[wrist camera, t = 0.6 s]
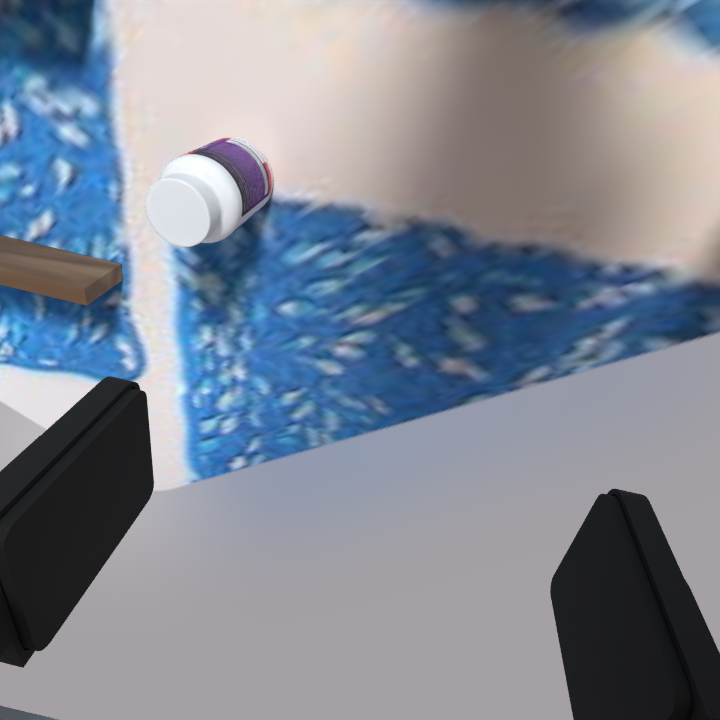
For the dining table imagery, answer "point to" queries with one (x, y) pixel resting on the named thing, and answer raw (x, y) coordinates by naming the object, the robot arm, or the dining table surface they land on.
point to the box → (55, 271)
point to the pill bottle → (209, 192)
